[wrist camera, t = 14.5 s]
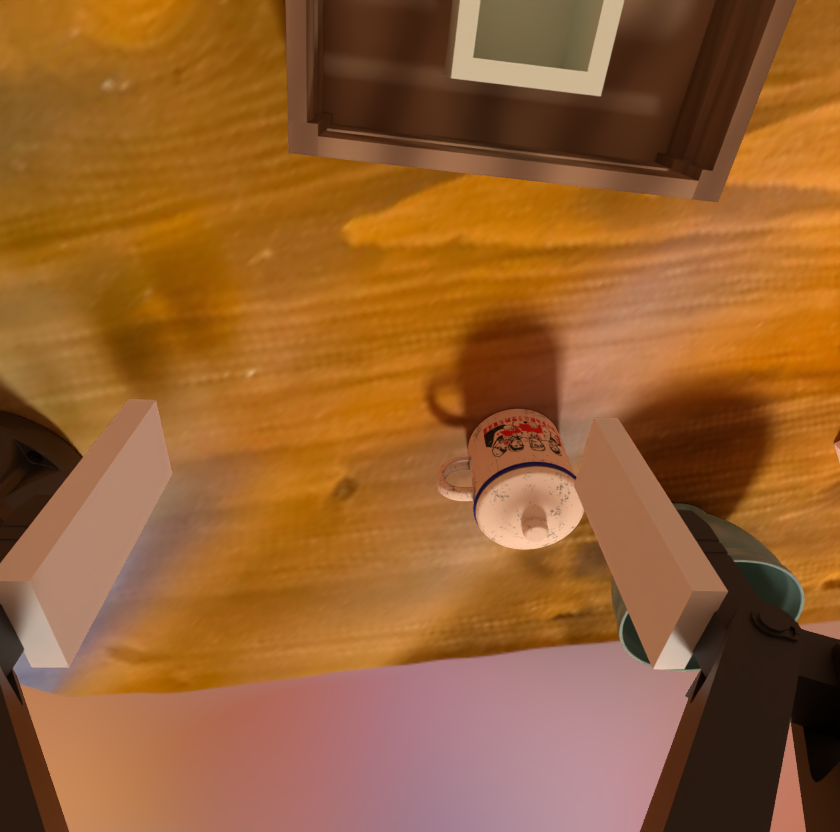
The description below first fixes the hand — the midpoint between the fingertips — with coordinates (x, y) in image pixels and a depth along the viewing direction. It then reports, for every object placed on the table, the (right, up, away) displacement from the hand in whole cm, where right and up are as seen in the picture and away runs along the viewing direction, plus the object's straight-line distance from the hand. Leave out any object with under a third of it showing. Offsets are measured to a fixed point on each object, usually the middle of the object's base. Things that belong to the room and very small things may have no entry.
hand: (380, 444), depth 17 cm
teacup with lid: (+9, -2, +35) cm, 36 cm away
